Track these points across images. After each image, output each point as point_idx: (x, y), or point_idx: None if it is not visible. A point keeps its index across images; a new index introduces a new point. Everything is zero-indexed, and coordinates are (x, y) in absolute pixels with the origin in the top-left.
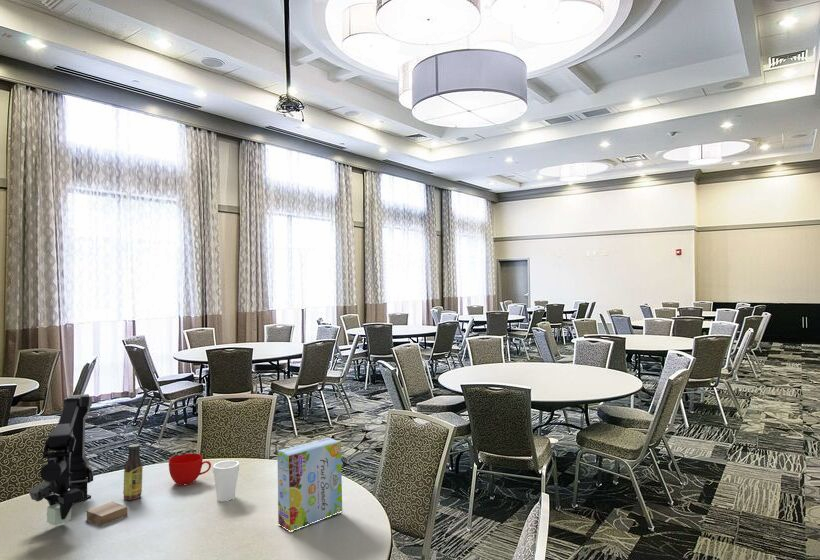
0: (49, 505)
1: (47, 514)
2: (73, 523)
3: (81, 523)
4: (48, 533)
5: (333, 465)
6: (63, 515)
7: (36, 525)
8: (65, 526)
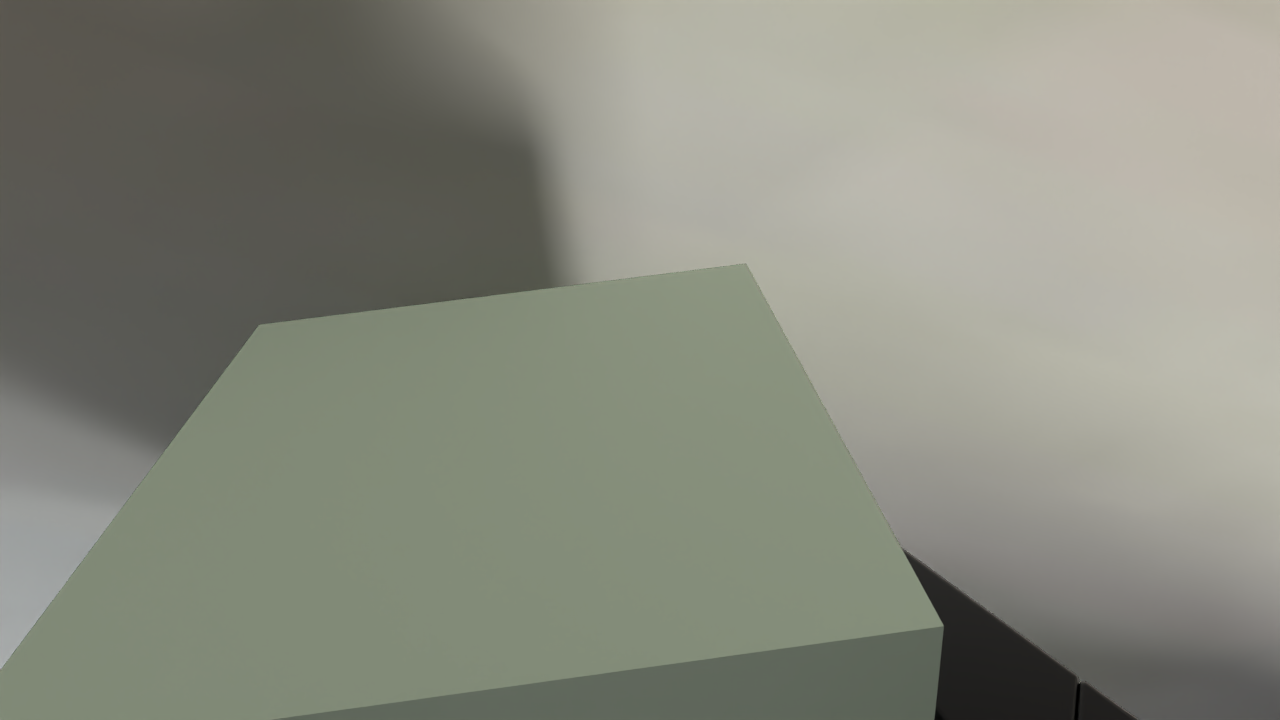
0: (1127, 714)
1: (781, 385)
2: None
3: None
4: (324, 111)
5: None
6: None
7: (1142, 98)
8: None
